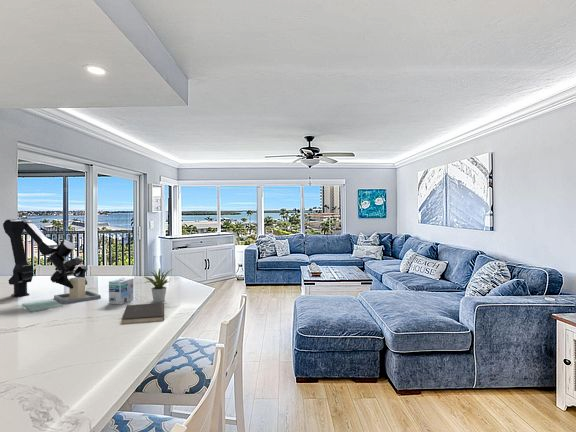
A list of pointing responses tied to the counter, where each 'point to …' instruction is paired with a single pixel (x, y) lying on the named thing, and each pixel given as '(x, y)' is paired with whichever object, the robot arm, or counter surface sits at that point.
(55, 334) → the counter surface
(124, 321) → the hardcover book
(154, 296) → the house plant
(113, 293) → the light bulb box
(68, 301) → the parts tray
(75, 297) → the carton
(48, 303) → the mat
